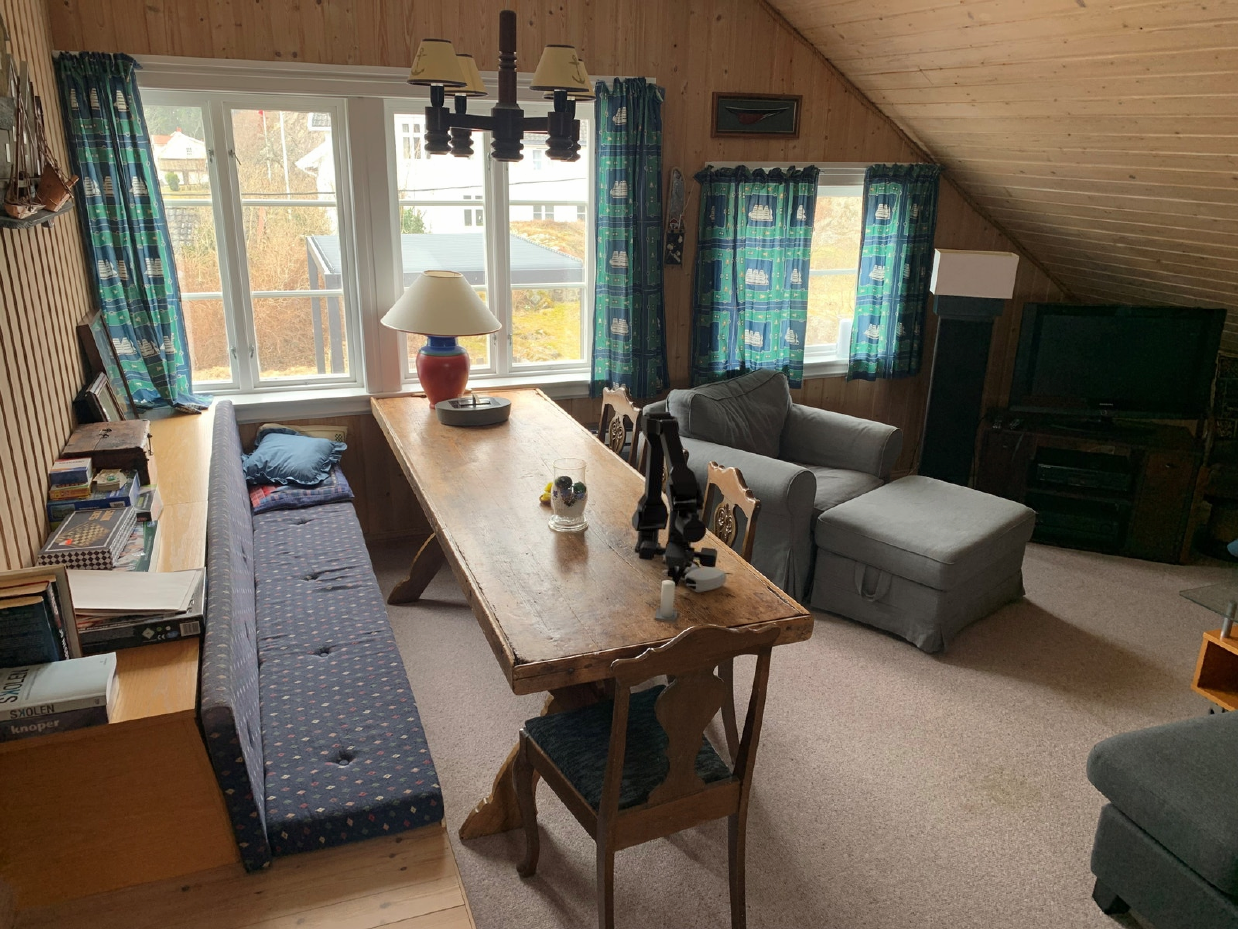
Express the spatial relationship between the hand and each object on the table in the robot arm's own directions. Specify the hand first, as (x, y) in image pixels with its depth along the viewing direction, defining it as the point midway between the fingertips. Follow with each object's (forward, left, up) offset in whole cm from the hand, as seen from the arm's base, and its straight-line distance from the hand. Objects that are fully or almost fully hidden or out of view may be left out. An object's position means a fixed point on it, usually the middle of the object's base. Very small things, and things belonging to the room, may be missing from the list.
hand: (676, 585), depth 221 cm
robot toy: (-6, +5, -2) cm, 7 cm away
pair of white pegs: (-1, -1, -2) cm, 2 cm away
